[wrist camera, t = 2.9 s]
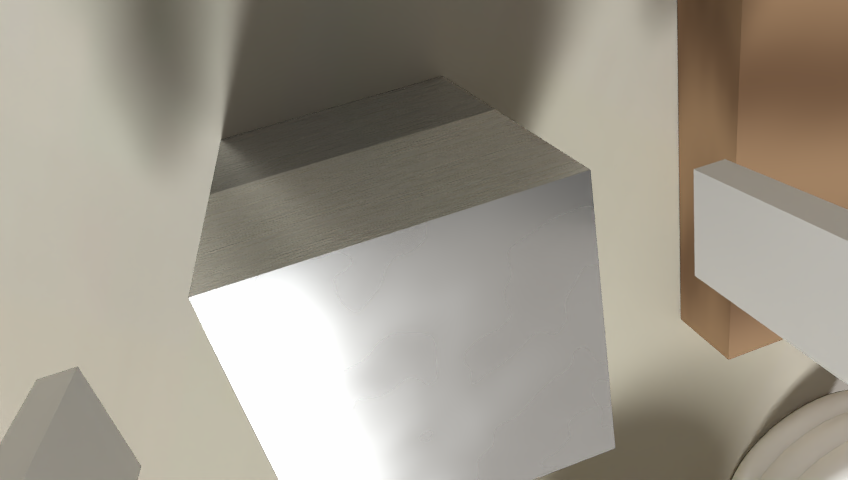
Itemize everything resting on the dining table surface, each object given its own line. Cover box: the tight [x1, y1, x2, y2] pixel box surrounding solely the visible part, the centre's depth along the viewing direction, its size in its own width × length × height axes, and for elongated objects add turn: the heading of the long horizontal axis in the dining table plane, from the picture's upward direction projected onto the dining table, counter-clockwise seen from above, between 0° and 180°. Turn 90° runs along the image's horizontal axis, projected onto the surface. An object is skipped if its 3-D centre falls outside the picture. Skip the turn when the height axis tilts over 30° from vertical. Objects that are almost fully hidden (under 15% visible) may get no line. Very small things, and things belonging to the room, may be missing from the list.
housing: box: [188, 76, 615, 480], centre depth 13 cm, size 6×6×8 cm
